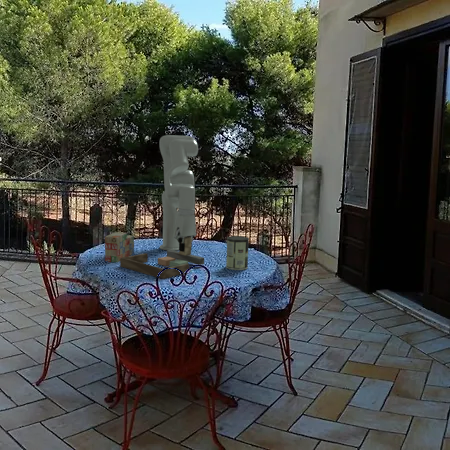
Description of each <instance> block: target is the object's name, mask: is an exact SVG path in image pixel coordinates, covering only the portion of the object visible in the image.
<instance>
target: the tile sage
mask: <svg viewBox="0 0 450 450" xmlns="http://www.w3.org/2000/svg"><path fill="white" fill-rule="evenodd" d="M183 264H189V262H188V261H183V260H179V259H176V260H174V261H170V266H169V267H174V266H178V265H183Z"/></svg>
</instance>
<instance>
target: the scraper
mask: <svg viewBox="0 0 450 450" xmlns="http://www.w3.org/2000/svg"><path fill="white" fill-rule="evenodd" d="M181 239H182V238H181ZM191 241H192V238H190V237H185V239H184V243H185V251H184V252H182V251H179V250H175V251H174V250H166V257H171V258H175V259H176V260H178V259H179V260H183V261H188V264H189V263H190V264H193V265H198V266H202V265H205V257H202V256H198V255H193V254H192V250H191Z"/></svg>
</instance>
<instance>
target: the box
mask: <svg viewBox="0 0 450 450" xmlns="http://www.w3.org/2000/svg"><path fill="white" fill-rule="evenodd" d="M148 257H149V254H148V253H146V252H145V253H139V254H136V255H130V256H128V257H123V258H120V261H119V264H120V265H119V266H120V268H124V269H127V270H130V271H135V272H138V273H141V274H145V275H147V276H152V277H154V278H158V277H157V275H158V273H159V272H160V271H162V270H163V269H164V268H162V267H158V266H154V265H151V264H148V262H149V261H148V259H149V258H148ZM168 268H177V269H179V270H181V271H182V272H183V273H184V272H185V271H186V270H187V269H189V270H190V264H189V263H188V264H183V265H178V266H174V267H170V266H168ZM179 274H180V272H179V271H178V270H176V269H166V270H164V271H163V272H162V273H161V274H160V276H159V278H158V279H162V280H166V279H169V277H170V278H173V277H172V276H174V277H177V276H176V275H178V276H180V275H179Z"/></svg>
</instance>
